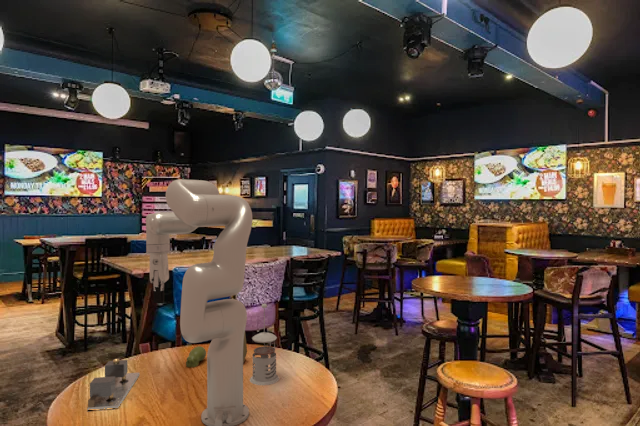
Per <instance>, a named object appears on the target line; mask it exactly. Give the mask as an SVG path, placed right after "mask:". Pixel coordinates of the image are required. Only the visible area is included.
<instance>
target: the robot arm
mask: <svg viewBox="0 0 640 426" xmlns="http://www.w3.org/2000/svg"><path fill="white" fill-rule="evenodd" d="M165 201H166V204H167V206H168V207H169V209H170V210H171V211H166V212H165V211H164V212H163V211H160V212H159V211H158V212H155V213H149V214H147V215H146V217H145V232H146V233H145V236H146V239H145V240H146V241H145V242H146V246H145V247H146V248H145V249H146V255H149V283H150V284H153V303H154V304H163V303H165V283H166V282H167V281H169V279H170V271H169V257H168V254H170V253H171V252H170V251H171V243H170V242H171V241H170V240H171V238H170V237H171V236H170V235H188V234H190V233H192V232H194V231H196V229H197V230H198V228H205V227H210V228H211V227H224V229H223V230H222V231H221V232H220V233H219V235H218V236H217V238H216V239H215V241H214V245H213V257H212V260H211V261H209V262H202V263H195V264H192V265H190V266H189V267H188V268H186V271H185V273H184V275H183V278H182V287H181V299H180V316H179V317H180V319H179V325H180V327H179V328H180V333H181V336H182V338H183V339H184V340H185V341H186V342H188V343H190V344H197V343H202V342H207V341H211V342H210V344H209V345H208V349H207V352H206V388H207V389H206V392H207V393H206V394H207V395H206V398H207V401H206V403H207V404H206V405H207V407H206V408H205V409H204V410H202V412H201V417H200V418H201V422H202V423H203V424H204V425H205V426H238V425H240V424H242V423H243V422H244V421H247V419H248V417H249V416H250V409H249V407H248V406H247V405H246V404H244V363H243V341H244V332H245V333H246V326H247V321H248V320H247V319H248V313H247V308H246V307H245V305H244V304H243V302H242V301H240V300H238V299H234V298H228V297H233V296H236V295H238V294H239V293H240V292H242V290H243V288H244V282H245V274H246V273H245V271H246V262H247V261H246V260H247V259H246V258H247V248H248V242H249V238H250V235H251V231H252V226H253V212H252V208H251V206H250V203H249V202H248V201H247V200H246V199H244V198H243V197H241V196H237V195H233V194H231V195H230V194H220V191H219V189H218V187H217V186H216V185H215V184H214V183H213V182H210V181H208V180H202V179H200V180H199V179H184V178H183V179H181V178H178V179H175V180H172V182H170V183H169V184H168V186H167V188H166V191H165ZM222 298H226V299H222ZM216 299H220V300H216ZM211 300H212V301H211ZM214 300H215V301H214ZM208 301H209V302H208Z"/></svg>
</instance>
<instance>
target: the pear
mask: <svg viewBox="0 0 640 426" xmlns="http://www.w3.org/2000/svg"><path fill="white" fill-rule="evenodd" d="M206 357H207V351H206V349H205V347H203V346H199V345H198V346H195V347H194V348H192V349H191V350H190V351H189V353H188V356H187V358H186V362H185V365H186V367H187V368H197V367H198V366H199V364H200V362H202V361H203V360H204V359H205V358H206Z"/></svg>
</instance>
